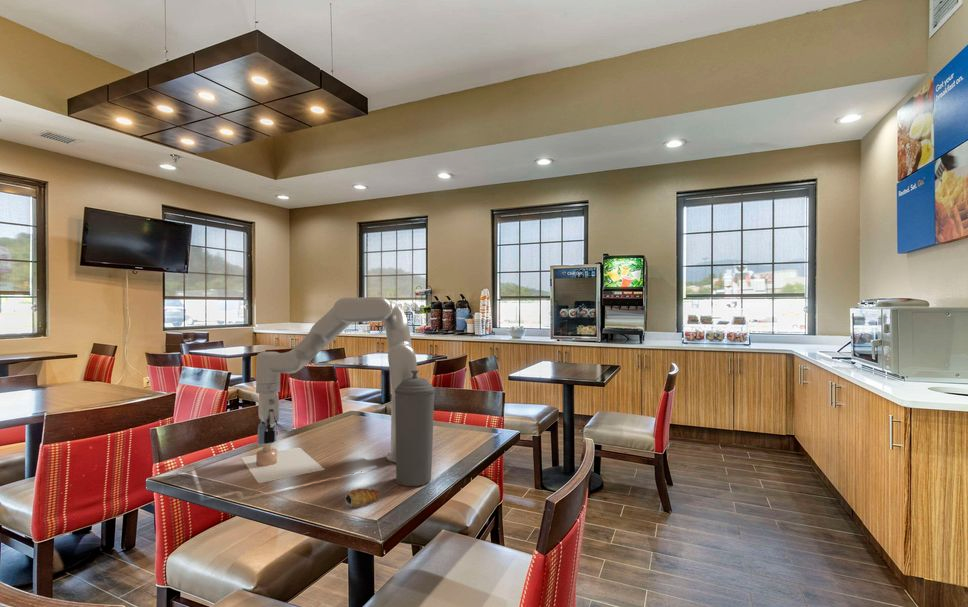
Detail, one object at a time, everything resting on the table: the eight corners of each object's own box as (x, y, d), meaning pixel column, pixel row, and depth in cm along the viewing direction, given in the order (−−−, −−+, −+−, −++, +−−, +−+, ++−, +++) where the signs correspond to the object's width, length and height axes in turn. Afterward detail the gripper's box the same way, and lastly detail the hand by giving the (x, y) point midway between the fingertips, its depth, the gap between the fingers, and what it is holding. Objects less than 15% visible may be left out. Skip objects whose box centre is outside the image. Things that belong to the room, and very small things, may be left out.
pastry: (373, 494, 130) (373, 481, 130) (384, 502, 125) (384, 488, 125) (342, 502, 124) (342, 489, 124) (352, 511, 119) (352, 497, 119)
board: (325, 472, 146) (325, 469, 146) (258, 486, 134) (258, 483, 134) (299, 450, 170) (299, 447, 170) (240, 460, 158) (240, 457, 158)
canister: (440, 483, 138) (442, 371, 139) (402, 492, 131) (403, 373, 132) (423, 471, 148) (425, 366, 149) (387, 478, 142) (388, 368, 143)
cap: (277, 441, 152) (277, 424, 152) (260, 444, 148) (260, 426, 148) (273, 438, 156) (274, 421, 156) (256, 440, 153) (256, 423, 153)
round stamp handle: (279, 463, 151) (279, 431, 152) (258, 467, 148) (259, 434, 148) (274, 458, 157) (275, 427, 157) (254, 462, 153) (255, 430, 153)
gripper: (286, 390, 148) (285, 444, 148) (274, 383, 162) (273, 433, 161) (261, 392, 144) (260, 448, 143) (251, 385, 157) (250, 436, 157)
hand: (267, 439), depth 152 cm, fingers closed on cap, 5 cm apart
